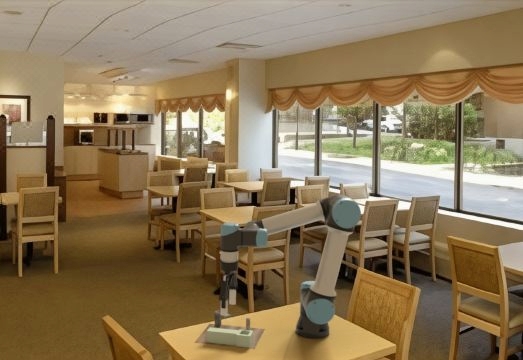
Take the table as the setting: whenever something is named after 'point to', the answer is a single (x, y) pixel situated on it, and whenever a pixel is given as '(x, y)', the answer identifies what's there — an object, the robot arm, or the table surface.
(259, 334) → the pintle board
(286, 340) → the table surface
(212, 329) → the link
